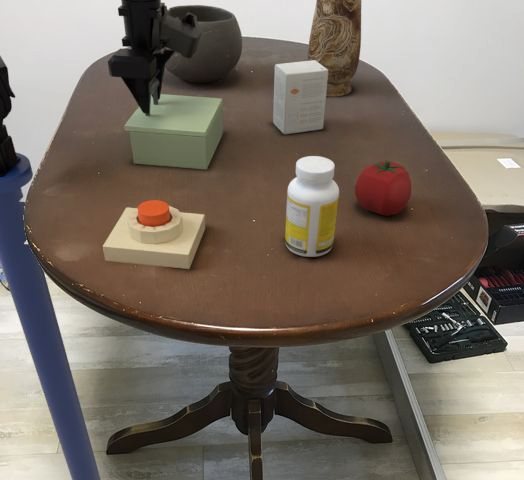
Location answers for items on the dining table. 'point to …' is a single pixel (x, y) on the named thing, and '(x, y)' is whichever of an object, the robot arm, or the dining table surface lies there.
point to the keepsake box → (177, 147)
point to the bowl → (208, 45)
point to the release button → (153, 213)
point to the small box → (299, 96)
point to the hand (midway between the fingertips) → (151, 106)
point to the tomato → (383, 188)
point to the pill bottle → (311, 207)
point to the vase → (336, 42)
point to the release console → (155, 240)
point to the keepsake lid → (175, 114)
